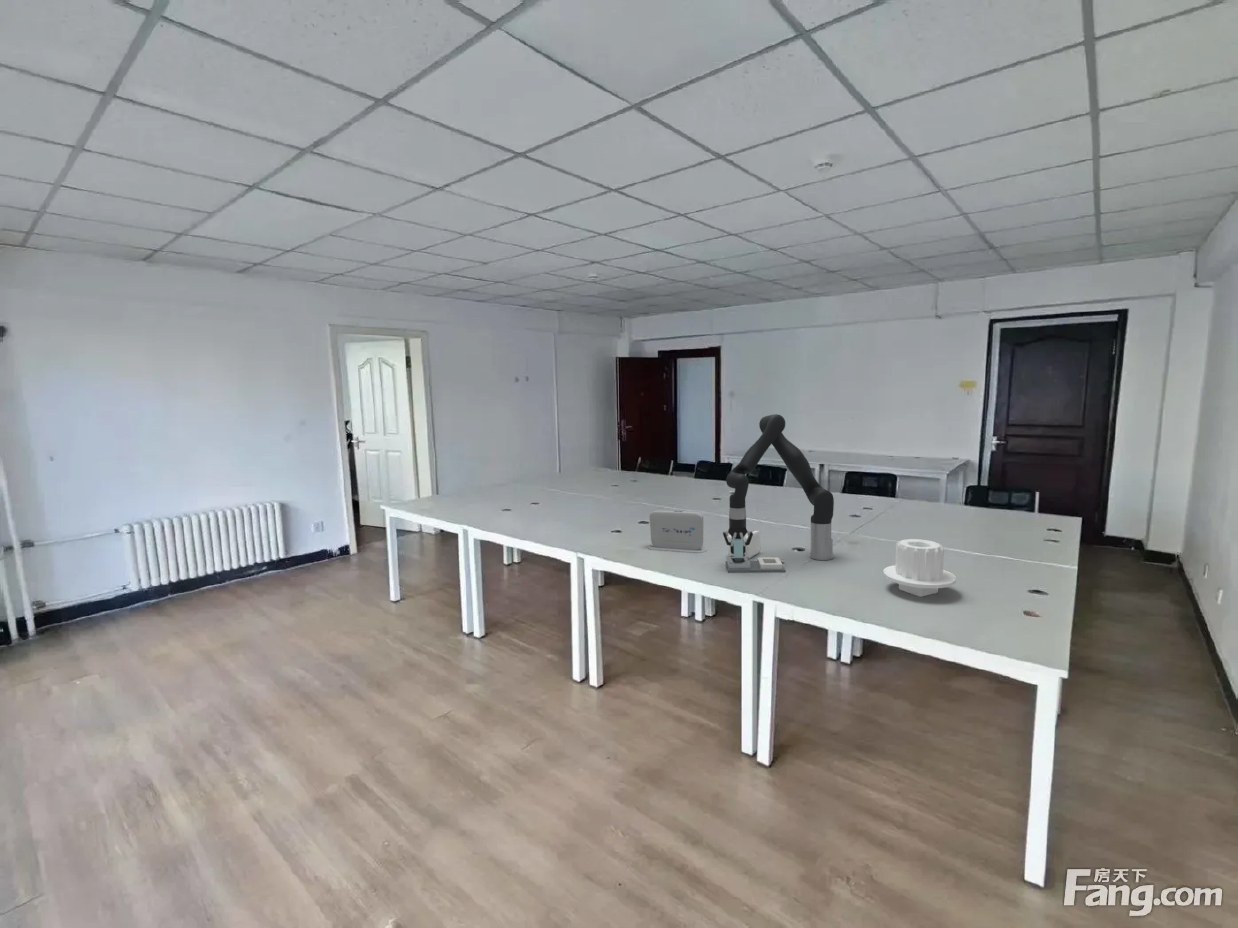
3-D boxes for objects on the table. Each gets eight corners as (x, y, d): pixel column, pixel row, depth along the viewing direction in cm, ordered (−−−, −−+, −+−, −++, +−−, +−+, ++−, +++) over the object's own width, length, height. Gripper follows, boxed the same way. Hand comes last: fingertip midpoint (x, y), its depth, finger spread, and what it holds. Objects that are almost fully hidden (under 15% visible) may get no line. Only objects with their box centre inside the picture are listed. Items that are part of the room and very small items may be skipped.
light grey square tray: (778, 561, 262) (778, 557, 262) (782, 568, 252) (782, 564, 252) (757, 561, 263) (757, 557, 263) (760, 568, 253) (760, 564, 253)
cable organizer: (747, 560, 269) (747, 536, 268) (727, 557, 276) (727, 534, 274) (760, 552, 281) (760, 529, 279) (741, 549, 287) (740, 527, 286)
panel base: (779, 562, 264) (779, 560, 264) (785, 572, 250) (785, 569, 250) (725, 563, 267) (725, 560, 266) (728, 572, 253) (728, 570, 253)
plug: (741, 557, 261) (741, 536, 260) (743, 561, 256) (742, 539, 255) (733, 557, 261) (732, 536, 260) (734, 561, 256) (733, 539, 255)
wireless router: (645, 549, 295) (643, 512, 292) (651, 544, 304) (650, 508, 302) (704, 553, 283) (703, 514, 281) (708, 548, 292) (707, 510, 290)
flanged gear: (924, 607, 205) (925, 556, 203) (868, 586, 228) (869, 541, 226) (970, 595, 215) (972, 546, 213) (913, 576, 238) (914, 532, 235)
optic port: (747, 561, 264) (747, 555, 263) (750, 568, 253) (750, 562, 253) (726, 562, 265) (726, 556, 264) (728, 569, 254) (728, 562, 254)
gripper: (752, 514, 259) (752, 551, 261) (721, 515, 261) (721, 551, 263) (754, 518, 252) (754, 556, 254) (722, 519, 253) (722, 556, 255)
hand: (737, 553), depth 258 cm, fingers closed on plug, 4 cm apart
